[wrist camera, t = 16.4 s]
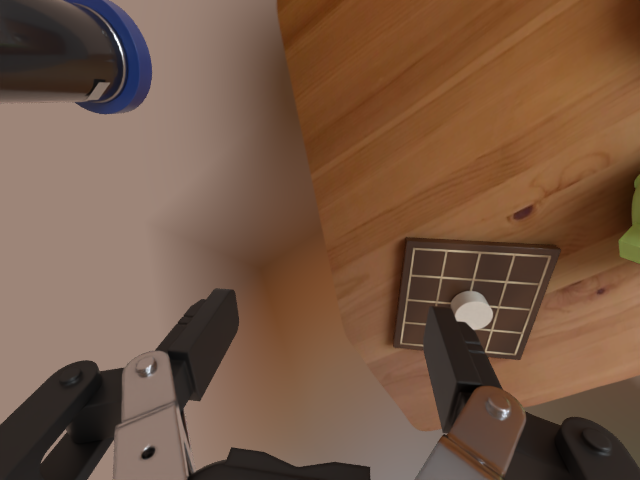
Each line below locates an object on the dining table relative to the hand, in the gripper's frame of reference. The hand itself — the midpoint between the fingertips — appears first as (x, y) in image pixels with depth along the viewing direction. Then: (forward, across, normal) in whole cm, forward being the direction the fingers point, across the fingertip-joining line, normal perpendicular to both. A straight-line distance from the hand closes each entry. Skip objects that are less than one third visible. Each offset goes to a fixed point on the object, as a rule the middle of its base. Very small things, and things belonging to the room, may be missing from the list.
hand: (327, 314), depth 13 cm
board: (+27, -17, +18) cm, 36 cm away
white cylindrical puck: (+26, -17, +18) cm, 35 cm away
